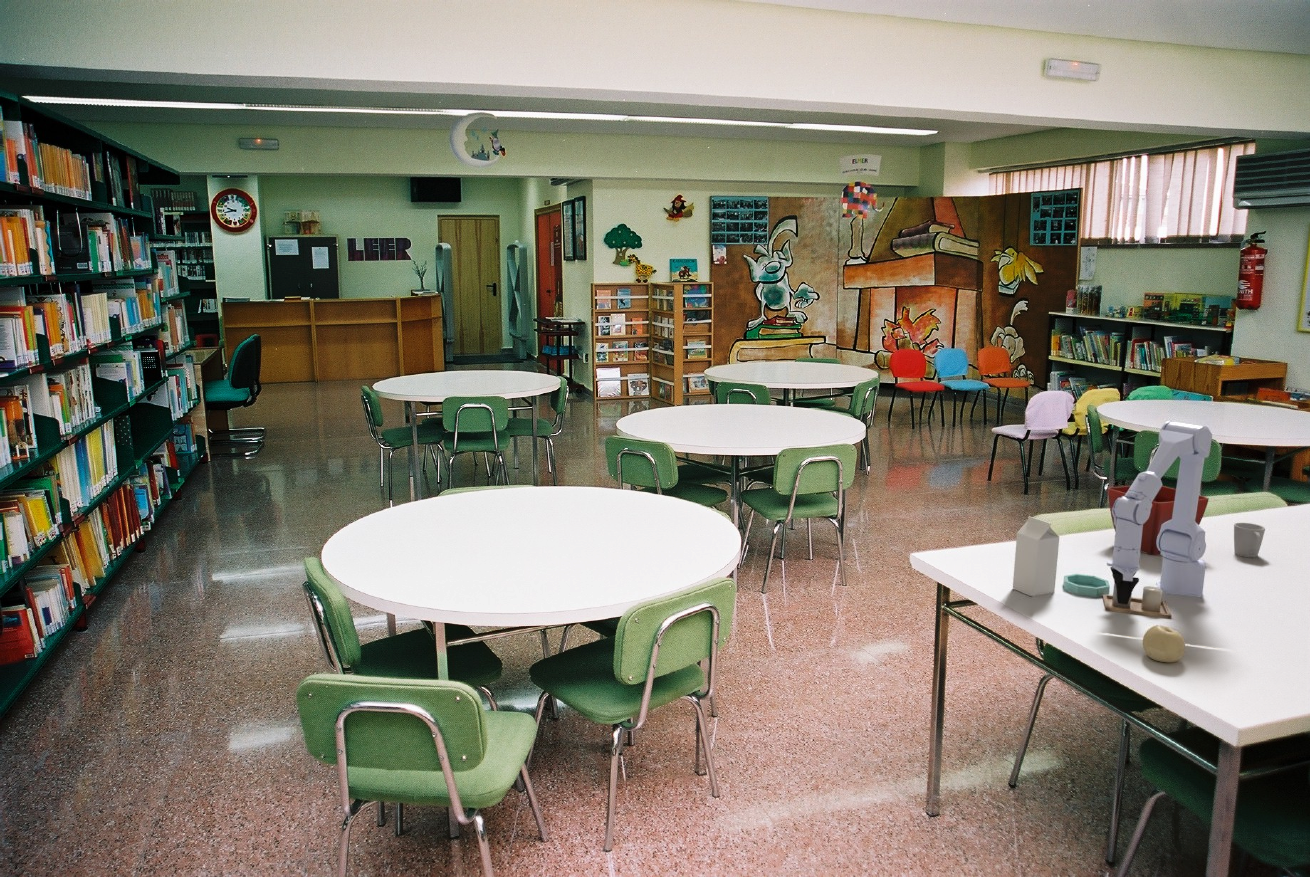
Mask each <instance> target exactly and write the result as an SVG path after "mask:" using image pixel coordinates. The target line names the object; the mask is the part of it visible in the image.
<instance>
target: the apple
mask: <svg viewBox="0 0 1310 877" xmlns="http://www.w3.org/2000/svg"><path fill="white" fill-rule="evenodd" d="M1142 638H1143V639H1142V648H1143V650H1144V652H1145V654H1146V655H1147V656H1148V658H1150V659H1152V660H1154V661H1157V662H1162V663H1174V662H1177V661H1179V660H1180V659H1181V658H1182V657H1183V656H1184V654H1185V652H1186V642H1185V639H1184V636H1183V635H1182V634H1181V632H1179V631H1177V630H1175V629H1174V628H1171V627H1169V626H1165V625H1161V624H1160V625H1159V624H1156V625H1153V626H1151V627H1150V628H1148V629H1147V630H1146V631H1145V633H1144V635H1143V637H1142Z"/></svg>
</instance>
